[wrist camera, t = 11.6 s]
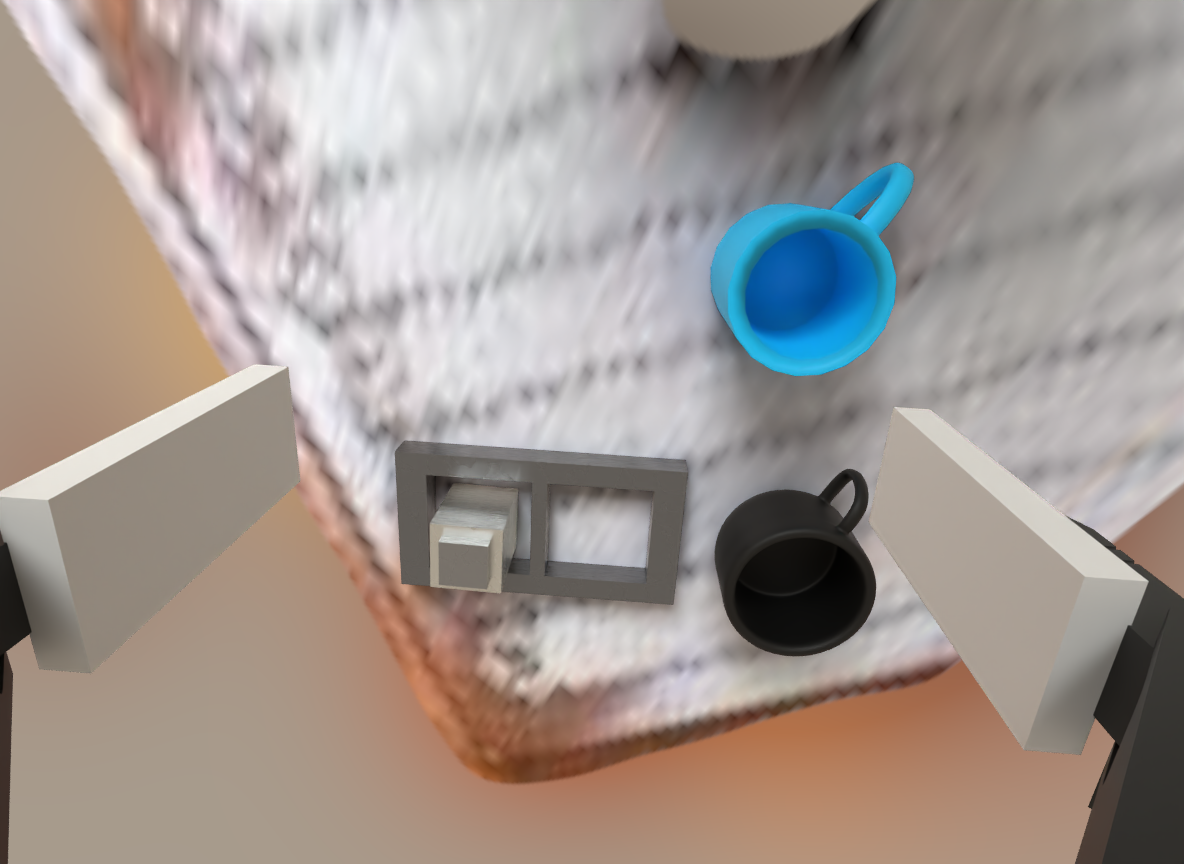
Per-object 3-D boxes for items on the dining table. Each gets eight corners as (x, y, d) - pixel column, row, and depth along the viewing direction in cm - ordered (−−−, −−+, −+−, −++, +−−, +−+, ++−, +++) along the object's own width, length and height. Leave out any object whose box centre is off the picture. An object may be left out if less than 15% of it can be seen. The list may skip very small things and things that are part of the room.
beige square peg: (453, 482, 48) (426, 529, 41) (518, 488, 48) (500, 536, 41) (453, 539, 49) (427, 593, 43) (516, 545, 49) (498, 600, 43)
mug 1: (776, 366, 44) (807, 407, 36) (681, 281, 42) (692, 304, 34) (927, 216, 40) (997, 225, 32) (830, 116, 38) (878, 101, 31)
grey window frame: (404, 440, 47) (394, 451, 45) (685, 460, 46) (687, 472, 44) (410, 568, 50) (401, 583, 48) (671, 588, 50) (673, 604, 48)
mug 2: (792, 613, 50) (817, 681, 43) (686, 556, 49) (694, 617, 42) (898, 483, 46) (944, 536, 39) (785, 418, 45) (812, 460, 38)
